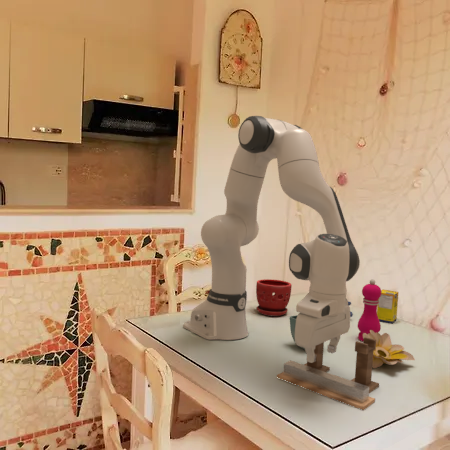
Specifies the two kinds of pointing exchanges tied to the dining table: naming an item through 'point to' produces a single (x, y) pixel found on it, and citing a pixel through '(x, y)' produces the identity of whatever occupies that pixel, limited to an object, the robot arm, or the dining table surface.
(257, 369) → the dining table surface
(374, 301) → the pepper mill
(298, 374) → the steel rail
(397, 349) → the decorative flower
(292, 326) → the flower pot
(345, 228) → the robot arm
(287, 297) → the plant pot
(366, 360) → the walnut post
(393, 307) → the supplement box
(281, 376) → the light wood flat board
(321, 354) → the walnut post
